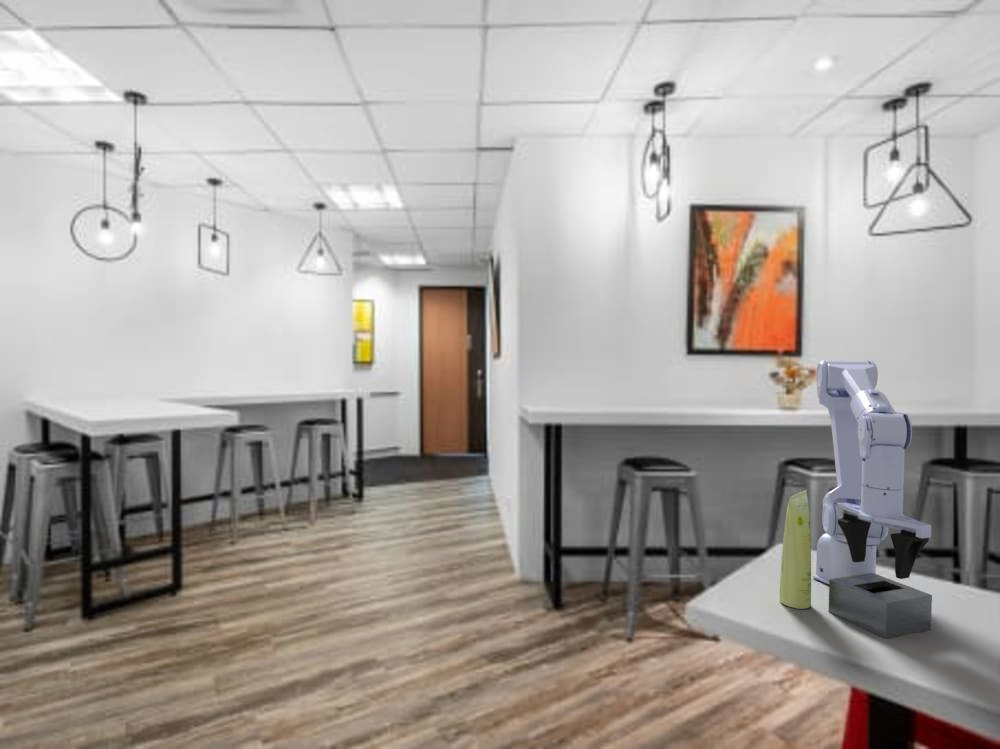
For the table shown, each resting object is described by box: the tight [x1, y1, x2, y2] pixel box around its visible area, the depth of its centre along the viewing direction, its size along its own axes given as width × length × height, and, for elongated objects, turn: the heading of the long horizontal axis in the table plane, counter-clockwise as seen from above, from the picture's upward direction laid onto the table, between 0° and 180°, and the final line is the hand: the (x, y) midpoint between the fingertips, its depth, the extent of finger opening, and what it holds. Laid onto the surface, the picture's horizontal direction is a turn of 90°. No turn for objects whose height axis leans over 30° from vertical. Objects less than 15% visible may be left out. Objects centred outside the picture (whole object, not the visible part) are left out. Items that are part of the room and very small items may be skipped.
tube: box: [779, 489, 812, 610], centre depth 100 cm, size 6×5×20 cm
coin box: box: [828, 573, 933, 639], centre depth 94 cm, size 10×10×6 cm
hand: (879, 569), depth 94 cm, fingers open, 7 cm apart
